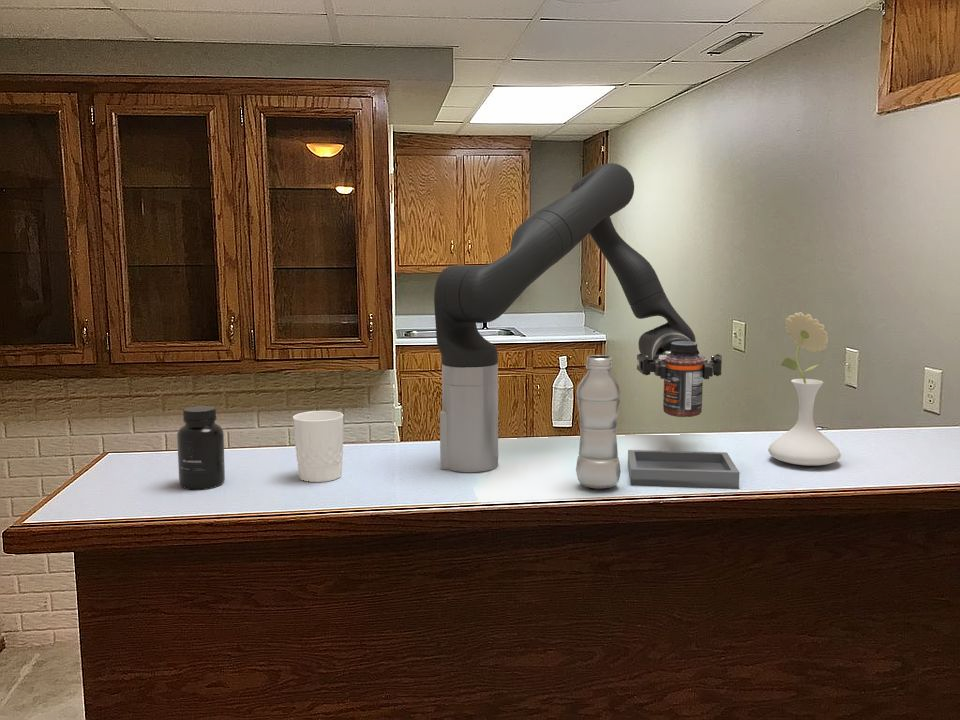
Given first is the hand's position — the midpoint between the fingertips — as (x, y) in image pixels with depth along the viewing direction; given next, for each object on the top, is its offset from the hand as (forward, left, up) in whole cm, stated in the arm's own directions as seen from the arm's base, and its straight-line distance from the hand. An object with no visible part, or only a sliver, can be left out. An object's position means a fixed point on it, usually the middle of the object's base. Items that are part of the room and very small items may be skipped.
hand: (685, 372), depth 128 cm
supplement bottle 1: (-74, -10, -17) cm, 77 cm away
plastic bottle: (-13, -5, -17) cm, 22 cm away
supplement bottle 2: (0, +3, -7) cm, 8 cm away
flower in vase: (+21, +14, -17) cm, 30 cm away
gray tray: (0, +2, -17) cm, 17 cm away
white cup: (-57, -4, -17) cm, 60 cm away
